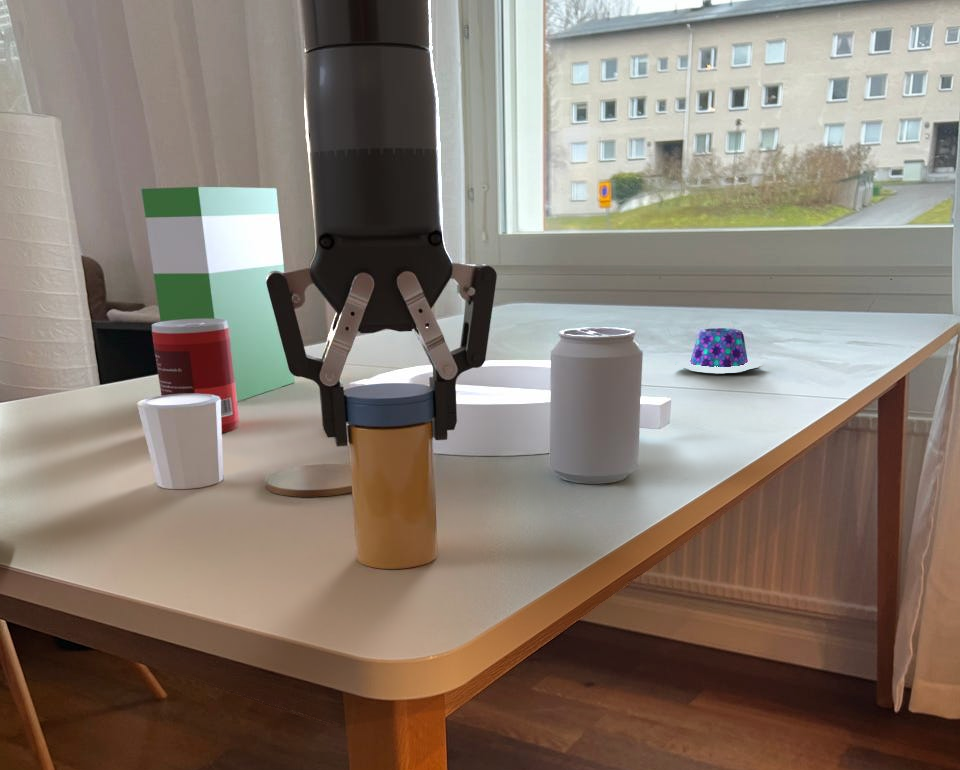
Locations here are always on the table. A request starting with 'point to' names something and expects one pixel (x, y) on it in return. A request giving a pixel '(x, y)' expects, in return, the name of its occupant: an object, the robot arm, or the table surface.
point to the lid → (389, 404)
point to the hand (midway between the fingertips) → (391, 439)
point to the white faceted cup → (184, 439)
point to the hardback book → (222, 271)
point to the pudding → (719, 348)
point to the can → (595, 404)
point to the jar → (393, 494)
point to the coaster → (311, 480)
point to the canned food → (197, 362)
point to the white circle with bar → (505, 407)
